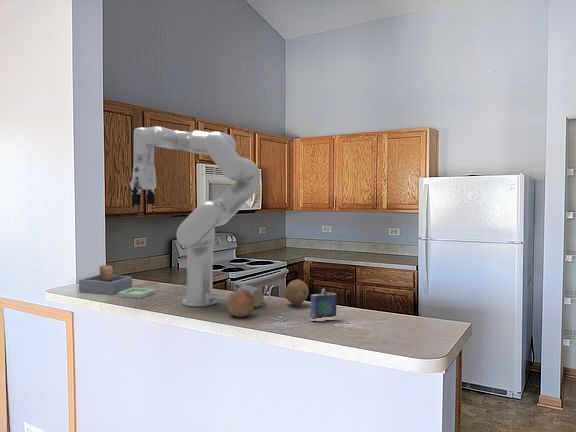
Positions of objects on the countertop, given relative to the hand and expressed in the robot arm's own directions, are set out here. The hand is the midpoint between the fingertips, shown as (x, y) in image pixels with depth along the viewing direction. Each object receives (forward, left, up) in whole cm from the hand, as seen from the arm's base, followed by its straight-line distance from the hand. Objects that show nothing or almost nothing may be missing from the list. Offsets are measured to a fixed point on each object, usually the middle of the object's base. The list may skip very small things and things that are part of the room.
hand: (143, 204), depth 177 cm
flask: (-73, +8, -37) cm, 82 cm away
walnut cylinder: (+22, -7, -37) cm, 43 cm away
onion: (-45, +12, -37) cm, 59 cm away
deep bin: (+22, -7, -37) cm, 43 cm away
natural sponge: (-60, -8, -37) cm, 71 cm away
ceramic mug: (-44, -3, -37) cm, 58 cm away
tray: (+5, -3, -37) cm, 37 cm away
